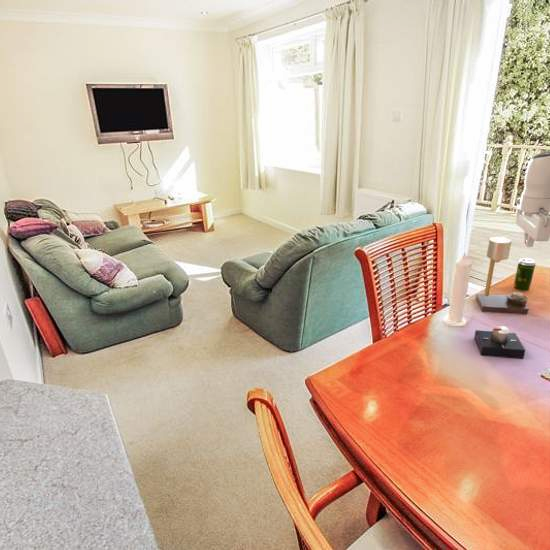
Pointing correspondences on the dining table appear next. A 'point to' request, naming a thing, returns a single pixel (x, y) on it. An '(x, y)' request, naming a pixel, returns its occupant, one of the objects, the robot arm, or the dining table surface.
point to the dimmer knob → (500, 334)
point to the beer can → (524, 274)
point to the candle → (459, 293)
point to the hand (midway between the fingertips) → (528, 245)
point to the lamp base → (502, 304)
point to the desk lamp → (496, 256)
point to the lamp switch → (517, 295)
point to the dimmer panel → (499, 345)
